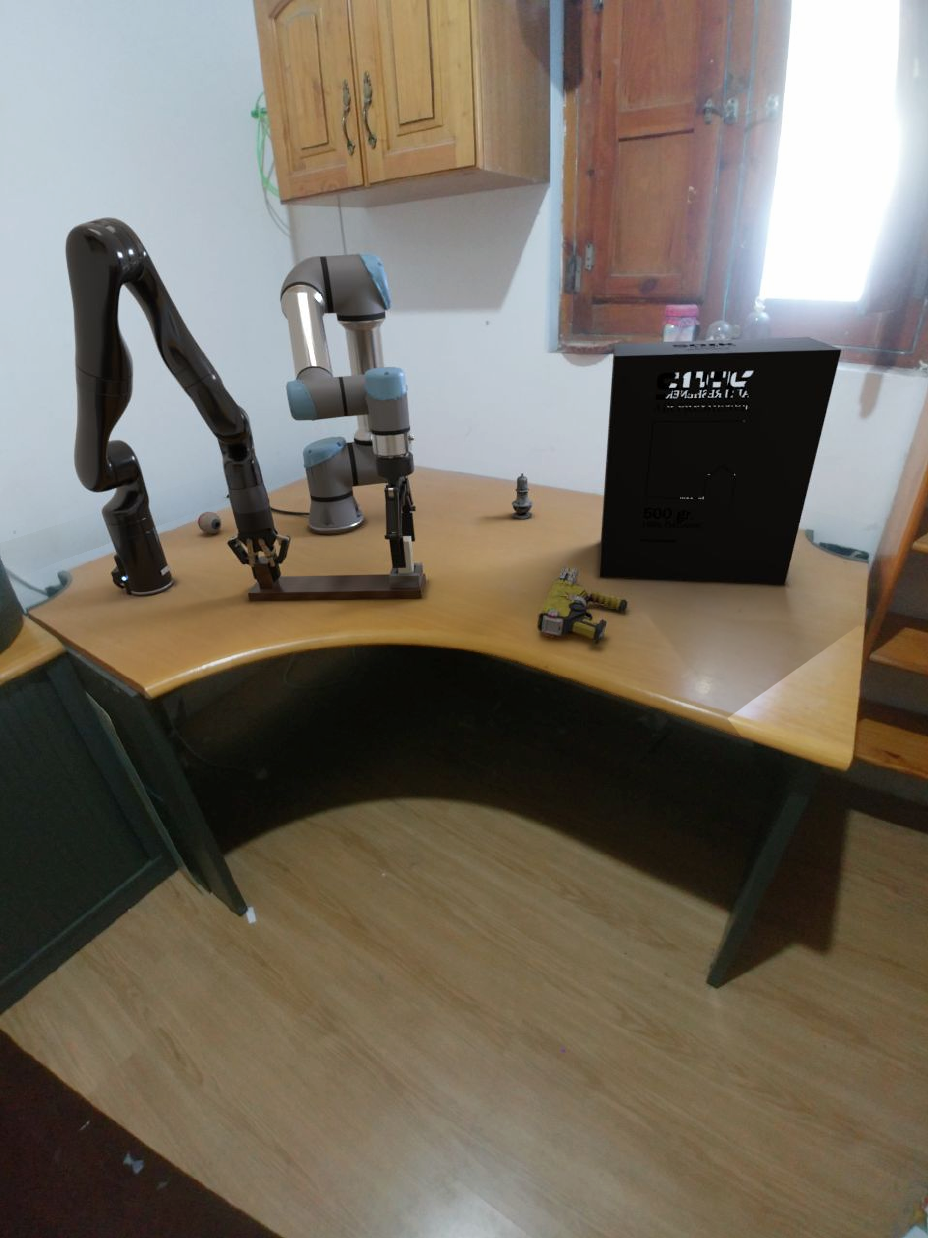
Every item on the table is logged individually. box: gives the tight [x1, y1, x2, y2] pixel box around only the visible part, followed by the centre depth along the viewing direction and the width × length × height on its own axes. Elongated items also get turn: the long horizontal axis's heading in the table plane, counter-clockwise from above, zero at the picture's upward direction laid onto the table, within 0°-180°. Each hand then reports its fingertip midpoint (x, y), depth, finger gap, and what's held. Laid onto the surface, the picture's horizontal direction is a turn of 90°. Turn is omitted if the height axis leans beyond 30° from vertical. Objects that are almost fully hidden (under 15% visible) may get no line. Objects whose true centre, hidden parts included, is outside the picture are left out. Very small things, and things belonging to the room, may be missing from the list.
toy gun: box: [536, 566, 629, 645], centre depth 118 cm, size 5×24×15 cm
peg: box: [398, 536, 415, 574], centre depth 129 cm, size 3×3×10 cm
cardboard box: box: [599, 336, 842, 586], centre depth 126 cm, size 38×20×45 cm, turn 78°
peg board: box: [247, 555, 427, 602], centre depth 132 cm, size 38×8×8 cm, turn 86°
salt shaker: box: [511, 472, 534, 520], centre depth 165 cm, size 6×6×12 cm
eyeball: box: [197, 511, 222, 534], centre depth 167 cm, size 6×6×6 cm
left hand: (268, 579), depth 133 cm, fingers closed on peg board, 3 cm apart
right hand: (404, 553), depth 128 cm, fingers open, 13 cm apart
